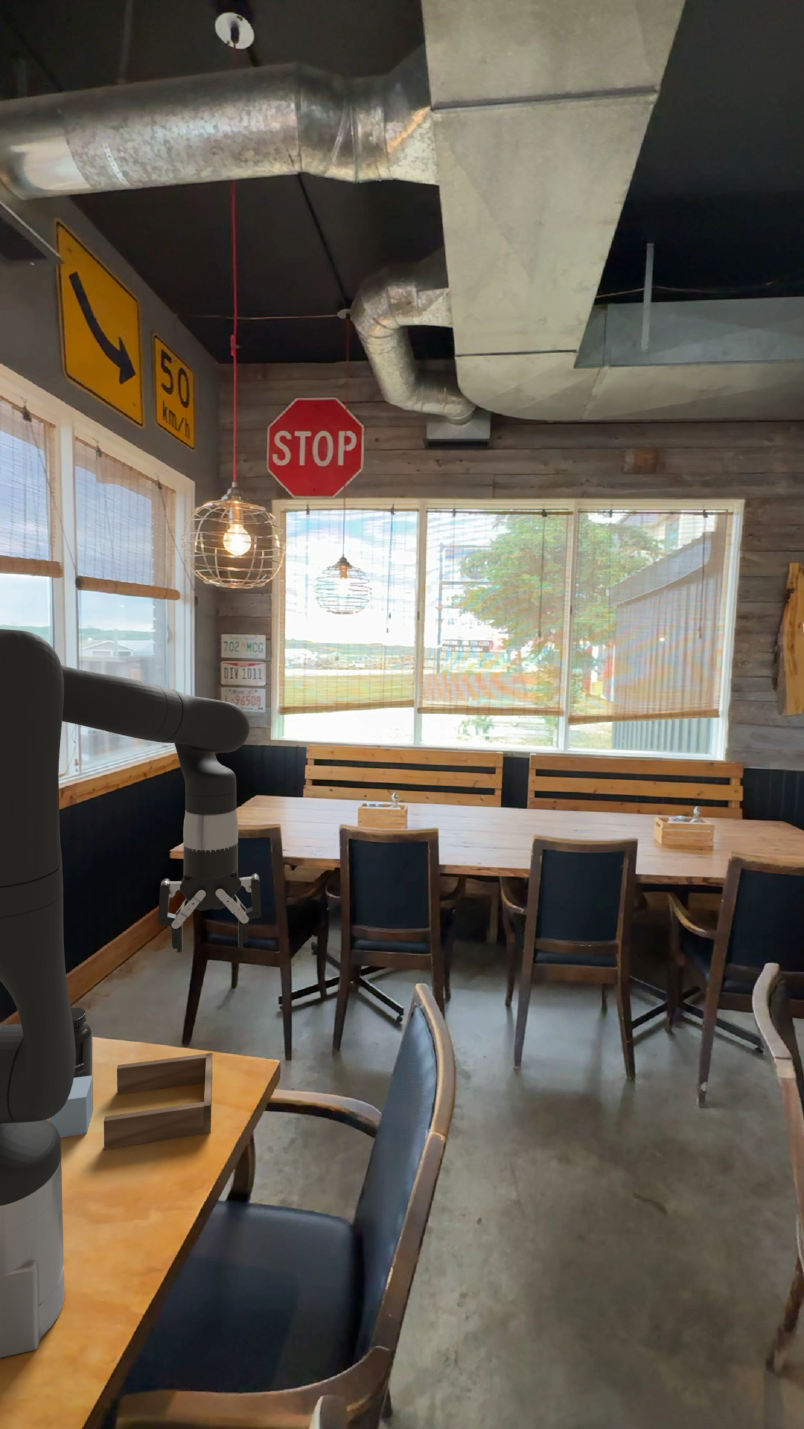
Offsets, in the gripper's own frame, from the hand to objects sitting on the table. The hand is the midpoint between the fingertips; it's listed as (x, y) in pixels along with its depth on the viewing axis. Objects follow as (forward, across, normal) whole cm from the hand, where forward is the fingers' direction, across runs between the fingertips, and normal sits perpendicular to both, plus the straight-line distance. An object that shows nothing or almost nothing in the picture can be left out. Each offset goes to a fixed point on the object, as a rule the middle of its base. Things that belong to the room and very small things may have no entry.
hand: (210, 947), depth 95 cm
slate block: (+30, -21, +8) cm, 37 cm away
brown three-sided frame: (+30, -8, +8) cm, 32 cm away
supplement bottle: (+30, -23, +18) cm, 42 cm away
